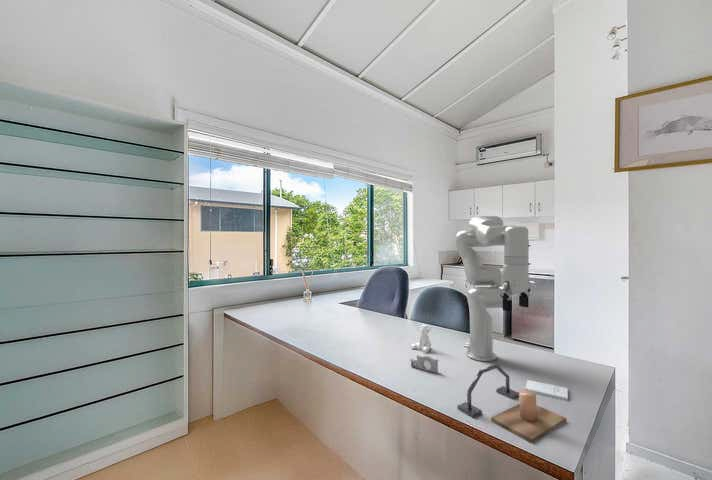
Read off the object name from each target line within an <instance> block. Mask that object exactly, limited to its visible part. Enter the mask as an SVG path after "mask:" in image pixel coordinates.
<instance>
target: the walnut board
mask: <svg viewBox="0 0 712 480" xmlns="http://www.w3.org/2000/svg"><path fill="white" fill-rule="evenodd" d="M536 405H537V404H536ZM490 418H491V419H490V421H491V422H493V423H494V424H496V425H498V426H500V427H502V428H503V429H505V430H507V431H509V432H511V433H512V434H514V435H516V436H518V437H520V438H522V439H524V440H525V441H527V442H529V443H531V444H532V443H534V442H536V441H537V440H539V439H541V438H543V437H544V436H545V435H546V434H549V433H550V432H551V431H554V430H555V429H556V428H558V427H560V426H561V425H563V424H565V423H566V422H567V417H565V416H563V415H561V414H558V413H556V412H554V411H552V410H549V409H547V408H544V407H542V406H540V405H537V420H536V421H533V422H531V421H526V420H524V419H522V418H521V417H520V403H518V404H517V405H514V406H512V407H510V408H508V409H506V410H504V411H502V412H499V413H498V414H496V415H494V416H491V417H490Z"/></svg>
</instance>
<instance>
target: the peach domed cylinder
mask: <svg viewBox="0 0 712 480" xmlns="http://www.w3.org/2000/svg"><path fill="white" fill-rule="evenodd" d="M518 393H519V396H518V398H519V399H518V400H519V404H520V417H521V418H522V419H524V420H526V421H531V422H533V421H536V420H537V394H536V393H534V392H532V391H528V390H525V389H521V390H519V391H518Z"/></svg>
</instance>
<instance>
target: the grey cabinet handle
mask: <svg viewBox="0 0 712 480" xmlns="http://www.w3.org/2000/svg"><path fill="white" fill-rule="evenodd" d="M495 369H496V370H498V371H499V373H500V374H502V375H503V377H505V386H503V385H502V386H500V387H497V388H496V393H498V394H501V395H502V396H504V397H507V398H509V399H511V400H514V399H516V398H519V391H516V390H513V389H511V388H510V375H509V374H508V373H507V372H506V371H505V370H504V369H503V368H502V367H501V366H500V365H499V364H496V363H495V364H492V365H490V366H487V367H484V368H482V369H479V371H478V372H477V374H476V376H475V377H474V379H473V381H472V382H471V384H470V386H469V387H468V389H467V390H466V391H467V392H466V395H467V396H466V401H465V402H463V403H460V404H458V405H457V409H458V410H459V411H461V412H462V413H464V414H466V415H468V416H470V417H471V418H476V417H478V416H480V415H482V413H483V411H482V409H481V408H478V407H476V406H474V405H472V392H473V391H474V389H475V387H476V386H477V384H478V382H479V381H480V378H481V377H482V376H483V374H484V373H487V372H491V371H493V370H495Z"/></svg>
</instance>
